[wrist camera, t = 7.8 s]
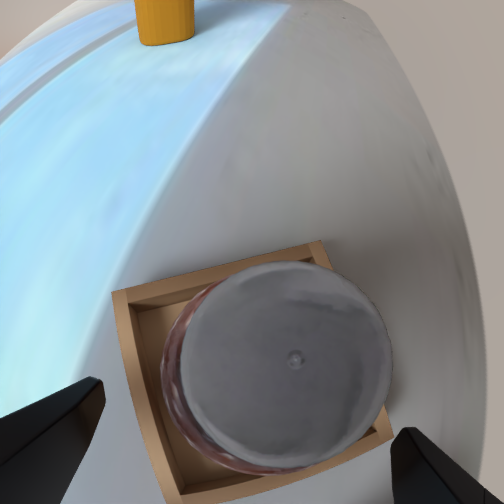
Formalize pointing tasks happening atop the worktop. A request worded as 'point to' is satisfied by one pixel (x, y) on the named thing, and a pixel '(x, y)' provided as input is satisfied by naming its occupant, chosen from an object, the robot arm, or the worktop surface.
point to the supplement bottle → (276, 368)
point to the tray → (152, 401)
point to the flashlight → (164, 21)
